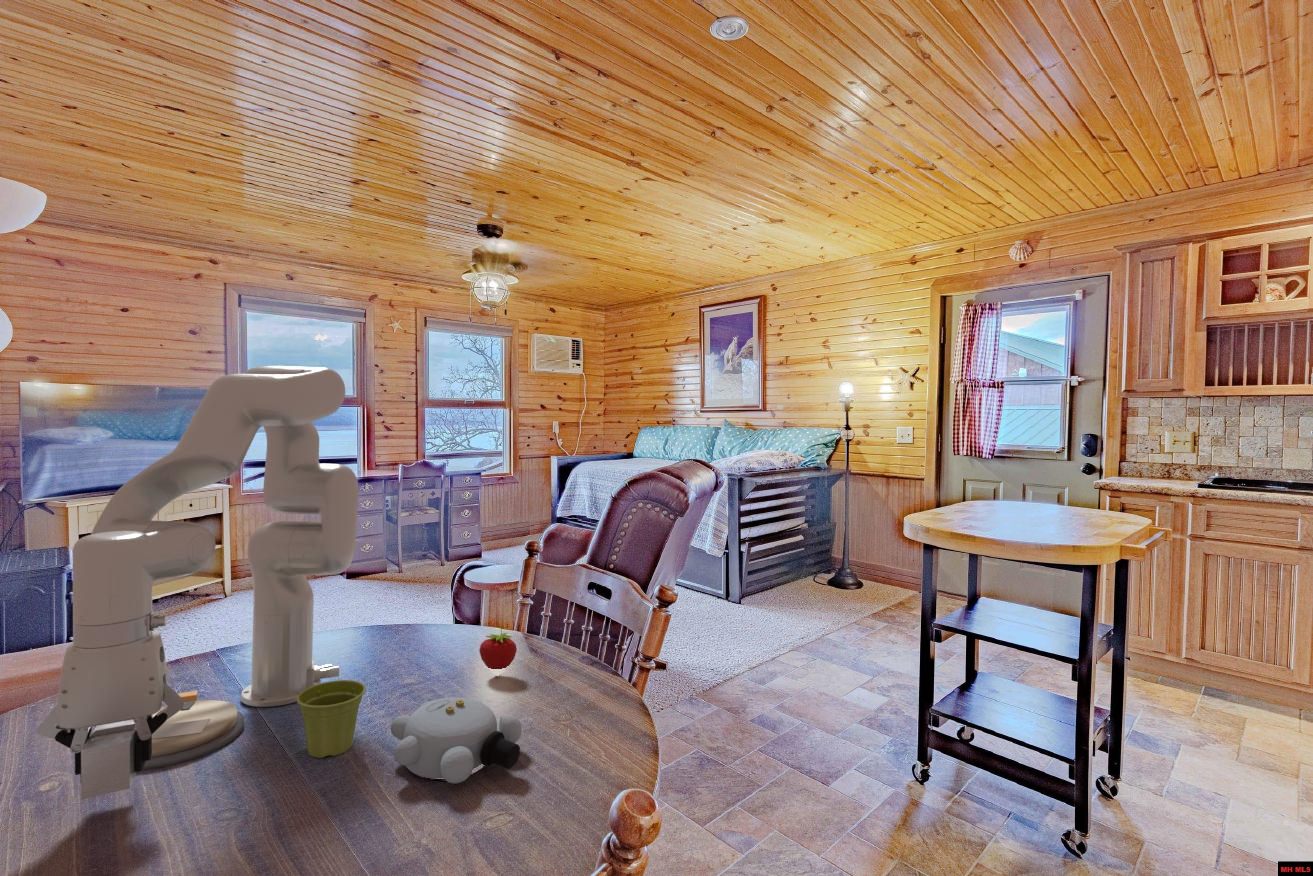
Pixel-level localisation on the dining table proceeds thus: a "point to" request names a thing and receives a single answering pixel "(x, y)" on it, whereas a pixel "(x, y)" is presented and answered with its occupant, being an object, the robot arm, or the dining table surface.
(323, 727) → the plant pot
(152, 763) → the turntable base
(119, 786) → the link block
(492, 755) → the grey toy figure
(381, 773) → the dining table surface
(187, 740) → the turntable
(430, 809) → the dining table surface
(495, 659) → the strawberry
